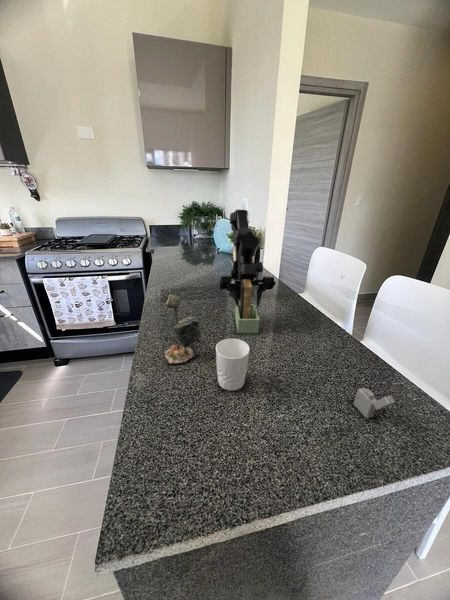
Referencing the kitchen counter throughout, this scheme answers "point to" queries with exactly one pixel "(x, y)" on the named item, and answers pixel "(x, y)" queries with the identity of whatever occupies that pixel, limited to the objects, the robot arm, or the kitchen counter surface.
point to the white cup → (232, 363)
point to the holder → (247, 321)
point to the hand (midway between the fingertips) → (247, 306)
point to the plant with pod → (182, 335)
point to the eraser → (245, 299)
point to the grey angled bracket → (370, 402)
